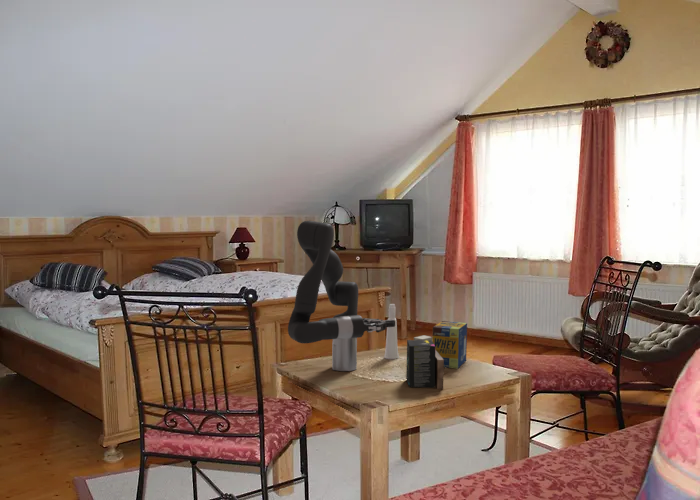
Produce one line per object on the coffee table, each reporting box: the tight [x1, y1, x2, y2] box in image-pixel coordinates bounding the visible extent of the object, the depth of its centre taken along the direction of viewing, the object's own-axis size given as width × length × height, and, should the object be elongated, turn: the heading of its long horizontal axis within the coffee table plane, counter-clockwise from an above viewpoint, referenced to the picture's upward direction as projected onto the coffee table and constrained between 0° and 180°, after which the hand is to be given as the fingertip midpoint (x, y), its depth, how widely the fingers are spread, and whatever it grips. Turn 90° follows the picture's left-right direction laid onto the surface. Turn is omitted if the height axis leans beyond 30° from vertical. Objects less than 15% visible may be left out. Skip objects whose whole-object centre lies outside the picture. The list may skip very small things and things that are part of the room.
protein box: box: [432, 320, 468, 370], centre depth 267 cm, size 10×15×16 cm
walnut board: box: [435, 350, 445, 390], centre depth 239 cm, size 2×18×10 cm, turn 3°
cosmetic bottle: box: [383, 303, 400, 360], centre depth 276 cm, size 6×6×22 cm
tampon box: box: [405, 339, 436, 389], centre depth 236 cm, size 11×9×15 cm
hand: (394, 323), depth 232 cm, fingers closed
